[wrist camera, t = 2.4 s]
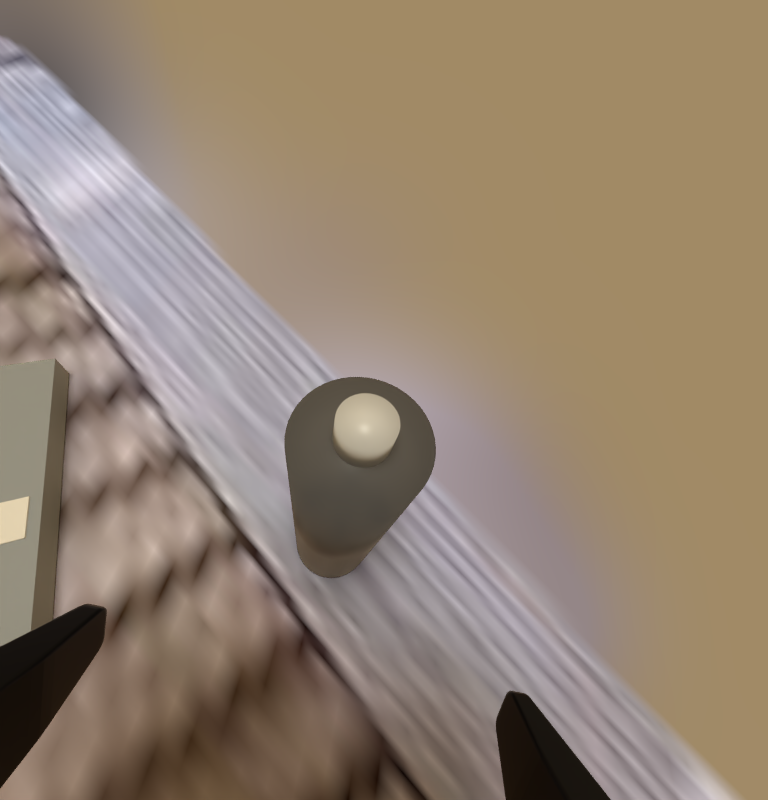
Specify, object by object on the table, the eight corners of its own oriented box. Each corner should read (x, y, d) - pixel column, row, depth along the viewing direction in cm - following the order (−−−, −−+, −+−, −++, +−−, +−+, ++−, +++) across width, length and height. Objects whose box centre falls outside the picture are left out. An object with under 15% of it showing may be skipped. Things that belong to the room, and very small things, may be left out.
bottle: (377, 562, 20) (475, 475, 8) (306, 589, 19) (305, 529, 7) (356, 494, 22) (411, 345, 10) (289, 514, 21) (267, 369, 9)
